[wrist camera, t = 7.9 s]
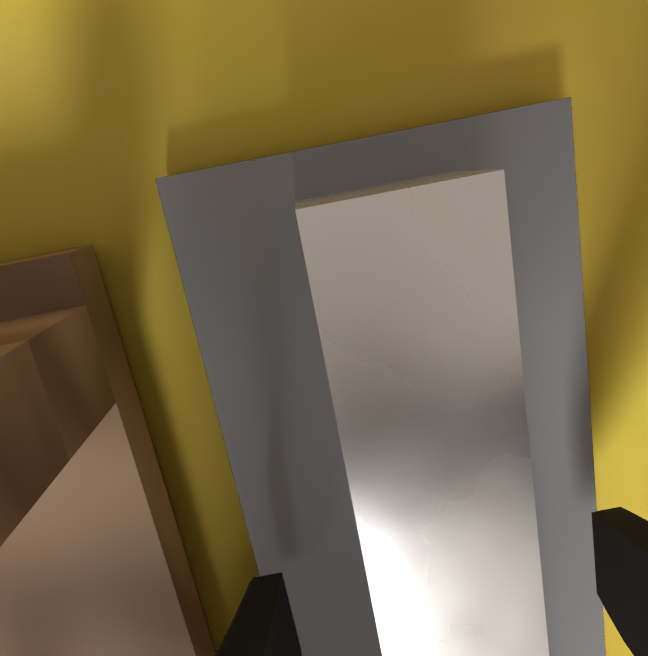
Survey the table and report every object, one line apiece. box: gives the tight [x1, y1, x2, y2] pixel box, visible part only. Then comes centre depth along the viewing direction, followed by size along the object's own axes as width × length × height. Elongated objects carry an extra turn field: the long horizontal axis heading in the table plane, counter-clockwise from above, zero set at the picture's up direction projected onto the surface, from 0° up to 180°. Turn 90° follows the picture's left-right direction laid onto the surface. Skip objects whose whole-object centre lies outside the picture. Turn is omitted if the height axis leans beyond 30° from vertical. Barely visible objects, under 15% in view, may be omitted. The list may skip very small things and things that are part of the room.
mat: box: [155, 97, 606, 656], centre depth 13 cm, size 18×8×1 cm, turn 11°
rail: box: [295, 170, 549, 656], centre depth 11 cm, size 16×3×3 cm, turn 10°
